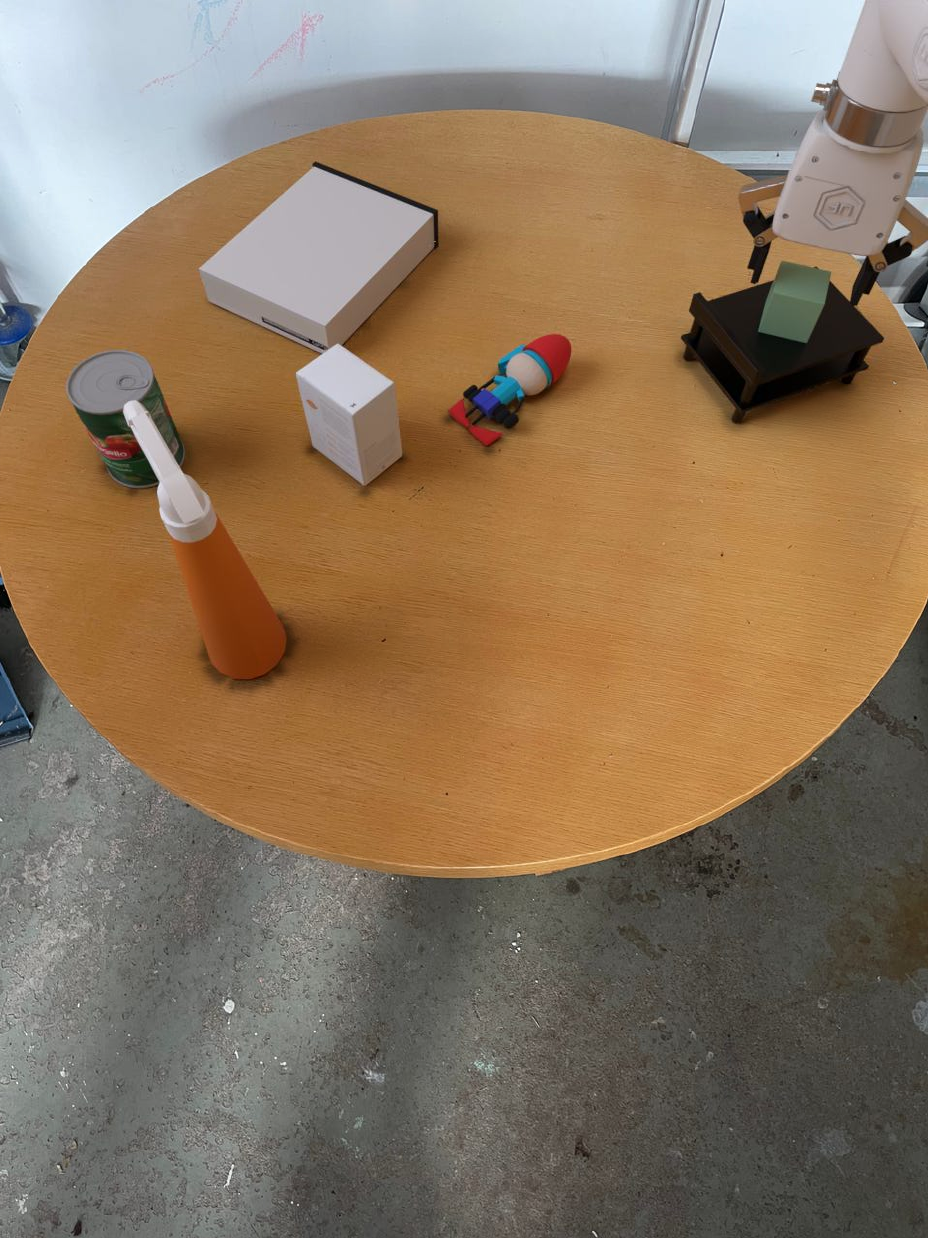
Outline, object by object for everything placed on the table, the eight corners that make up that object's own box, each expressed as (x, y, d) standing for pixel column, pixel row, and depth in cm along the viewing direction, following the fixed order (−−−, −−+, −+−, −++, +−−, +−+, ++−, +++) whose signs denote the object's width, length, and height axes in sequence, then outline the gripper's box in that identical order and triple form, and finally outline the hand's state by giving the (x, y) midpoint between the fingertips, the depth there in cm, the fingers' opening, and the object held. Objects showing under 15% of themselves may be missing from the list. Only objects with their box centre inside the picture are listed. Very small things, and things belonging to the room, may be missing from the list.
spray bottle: (248, 570, 82) (167, 362, 59) (301, 656, 78) (235, 467, 55) (179, 605, 80) (67, 404, 57) (228, 695, 76) (129, 515, 53)
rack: (795, 314, 100) (821, 253, 93) (859, 384, 94) (891, 325, 87) (675, 353, 97) (693, 293, 89) (734, 429, 91) (757, 371, 84)
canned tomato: (98, 487, 87) (54, 410, 77) (117, 427, 91) (77, 347, 81) (177, 490, 87) (142, 413, 77) (192, 430, 91) (161, 350, 81)
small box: (403, 457, 89) (397, 382, 80) (364, 488, 87) (353, 415, 78) (350, 416, 92) (338, 340, 83) (310, 446, 90) (293, 371, 81)
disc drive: (439, 245, 105) (438, 208, 101) (332, 359, 96) (326, 324, 91) (321, 198, 110) (315, 160, 105) (207, 302, 100) (196, 265, 96)
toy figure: (493, 460, 91) (592, 372, 94) (486, 430, 86) (590, 339, 89) (445, 423, 94) (543, 339, 97) (436, 393, 90) (538, 306, 93)
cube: (813, 311, 91) (831, 271, 86) (806, 343, 88) (824, 303, 84) (766, 300, 91) (781, 259, 87) (757, 331, 89) (773, 292, 85)
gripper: (762, 114, 70) (710, 290, 85) (984, 156, 67) (891, 330, 82) (776, 67, 74) (724, 244, 89) (988, 105, 71) (898, 281, 86)
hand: (804, 285), depth 85 cm, fingers open, 9 cm apart
